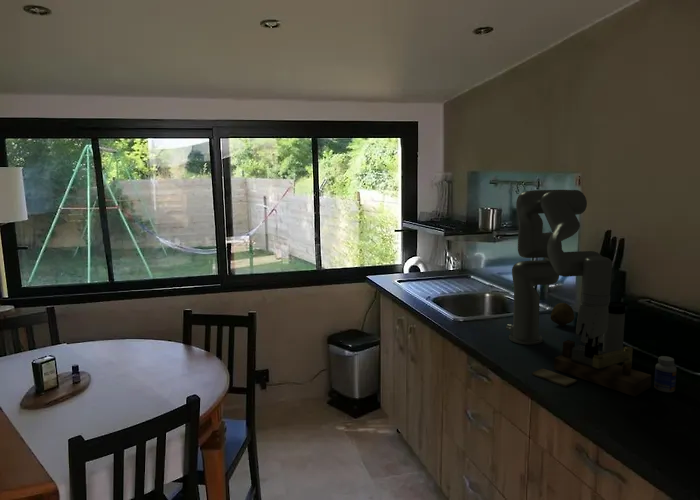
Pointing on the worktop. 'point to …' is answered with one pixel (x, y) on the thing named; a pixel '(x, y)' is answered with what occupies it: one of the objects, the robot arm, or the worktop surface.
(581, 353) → the black rectangular block
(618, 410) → the worktop surface
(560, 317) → the natural sponge
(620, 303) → the travel mug
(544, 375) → the cork pad
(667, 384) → the pill bottle
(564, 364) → the plane body
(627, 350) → the lever
